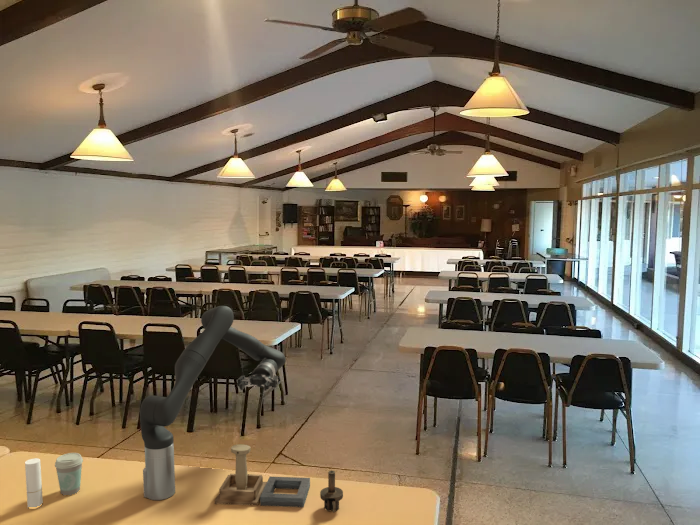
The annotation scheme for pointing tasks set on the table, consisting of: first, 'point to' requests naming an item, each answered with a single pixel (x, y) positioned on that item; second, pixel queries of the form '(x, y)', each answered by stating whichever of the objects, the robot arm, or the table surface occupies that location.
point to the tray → (241, 491)
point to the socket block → (285, 499)
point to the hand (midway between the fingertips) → (253, 387)
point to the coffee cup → (69, 472)
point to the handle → (241, 465)
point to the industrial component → (331, 494)
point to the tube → (33, 482)
